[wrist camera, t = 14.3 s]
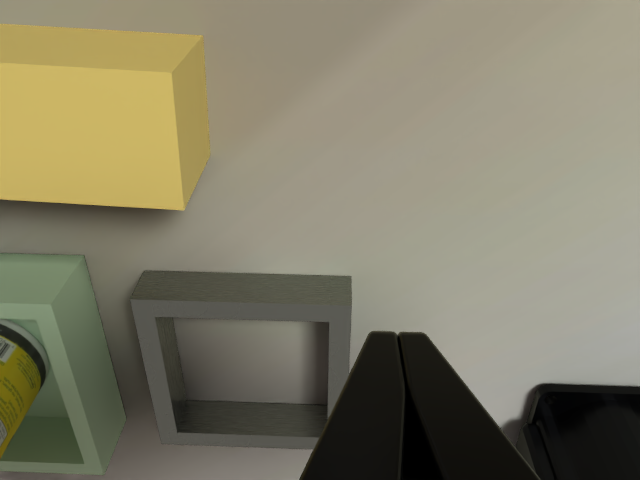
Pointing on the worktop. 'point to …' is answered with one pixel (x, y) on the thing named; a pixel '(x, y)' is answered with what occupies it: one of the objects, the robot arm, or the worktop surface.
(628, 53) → the worktop surface
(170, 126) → the block
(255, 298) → the pin socket
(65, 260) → the tray
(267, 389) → the worktop surface
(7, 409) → the supplement bottle
